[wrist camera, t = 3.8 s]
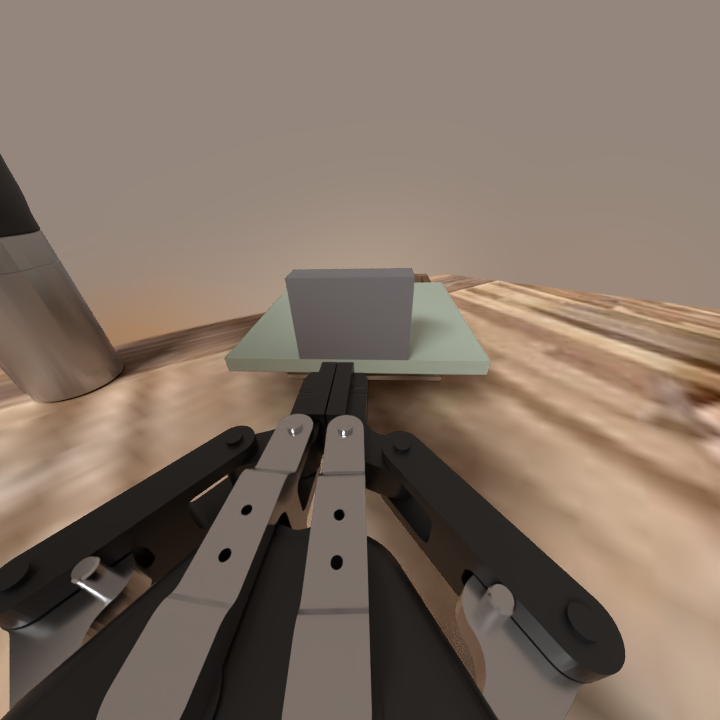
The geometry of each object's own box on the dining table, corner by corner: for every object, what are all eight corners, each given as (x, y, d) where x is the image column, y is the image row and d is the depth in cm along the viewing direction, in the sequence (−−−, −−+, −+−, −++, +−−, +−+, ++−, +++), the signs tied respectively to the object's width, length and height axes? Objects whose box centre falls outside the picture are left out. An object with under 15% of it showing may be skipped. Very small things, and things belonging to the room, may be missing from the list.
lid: (229, 371, 21) (195, 279, 17) (293, 292, 36) (283, 234, 32) (486, 374, 20) (515, 275, 16) (440, 291, 35) (448, 230, 31)
